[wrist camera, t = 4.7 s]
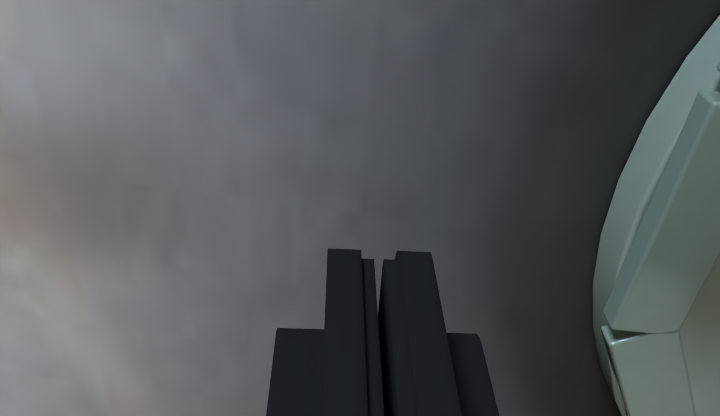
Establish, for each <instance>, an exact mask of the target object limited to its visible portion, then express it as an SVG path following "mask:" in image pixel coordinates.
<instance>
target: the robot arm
mask: <svg viewBox="0 0 720 416" xmlns="http://www.w3.org/2000/svg"><path fill="white" fill-rule="evenodd" d="M266 416H499V413H498V409H497V405H496V401H495V396H494V392H493V388H492V384H491V380H490V376H489V372H488V368H487V364H486V360H485V356H484V352H483V348H482V344H481V341H480V338H479V336H478V335H477V334H464V333H446V328H445V323H444V318H443V312H442V307H441V302H440V296H439V291H438V286H437V281H436V275H435V270H434V265H433V259H432V255H431V253H430V252H411V251H397V252H396V257H395V260H386V259H384V261H383V267H382V278H381V289H380V299H379V310H378V313H377V298H376V283H375V268H374V259H361V250H353V249H328V256H327V280H326V304H325V328H324V329H290V328H277V331H276V338H275V346H274V355H273V363H272V372H271V380H270V388H269V397H268V405H267V414H266Z"/></svg>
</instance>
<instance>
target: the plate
mask: <svg viewBox="0 0 720 416" xmlns="http://www.w3.org/2000/svg"><path fill="white" fill-rule="evenodd" d="M593 330H594V335H595V340H596V346H597V351H598V356H599V362H600V366H601V369H602V371H603V374H604V376H605V379H606V381H607V384H608V386H609V389H610V391H611V394H612V396H613V399H614V401H615V403H616V406H617V408H618V410H619V413H620V415H621V416H720V15H719V16H718V18H717V19H716V20H715V21H714V23H713V24H712V25H711V26H710V28H709V29H708V30H707V31H706V33H705V34H704V35H703V37H702V38H701V39H700V40H699V42H698V43H697V44H696V45H695V47H694V48H693V49H692V50H691V52H690V53H689V54H688V56H687V57H686V58H685V60H684V61H683V63H682V65H681V66H680V68H679V69H678V71H677V73H676V74H675V76H674V77H673V79H672V81H671V82H670V84H669V85H668V87H667V88H666V90H665V92H664V93H663V95H662V96H661V98H660V100H659V101H658V103H657V104H656V106H655V107H654V109H653V111H652V112H651V114H650V115H649V117H648V119H647V120H646V122H645V125H644V127H643V129H642V131H641V133H640V135H639V137H638V139H637V141H636V143H635V145H634V148H633V150H632V152H631V154H630V156H629V158H628V160H627V162H626V164H625V166H624V169H623V171H622V173H621V175H620V177H619V179H618V182H617V185H616V189H615V192H614V195H613V198H612V201H611V204H610V207H609V210H608V213H607V216H606V219H605V222H604V226H603V229H602V232H601V237H600V243H599V249H598V255H597V261H596V267H595V273H594V279H593Z"/></svg>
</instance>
